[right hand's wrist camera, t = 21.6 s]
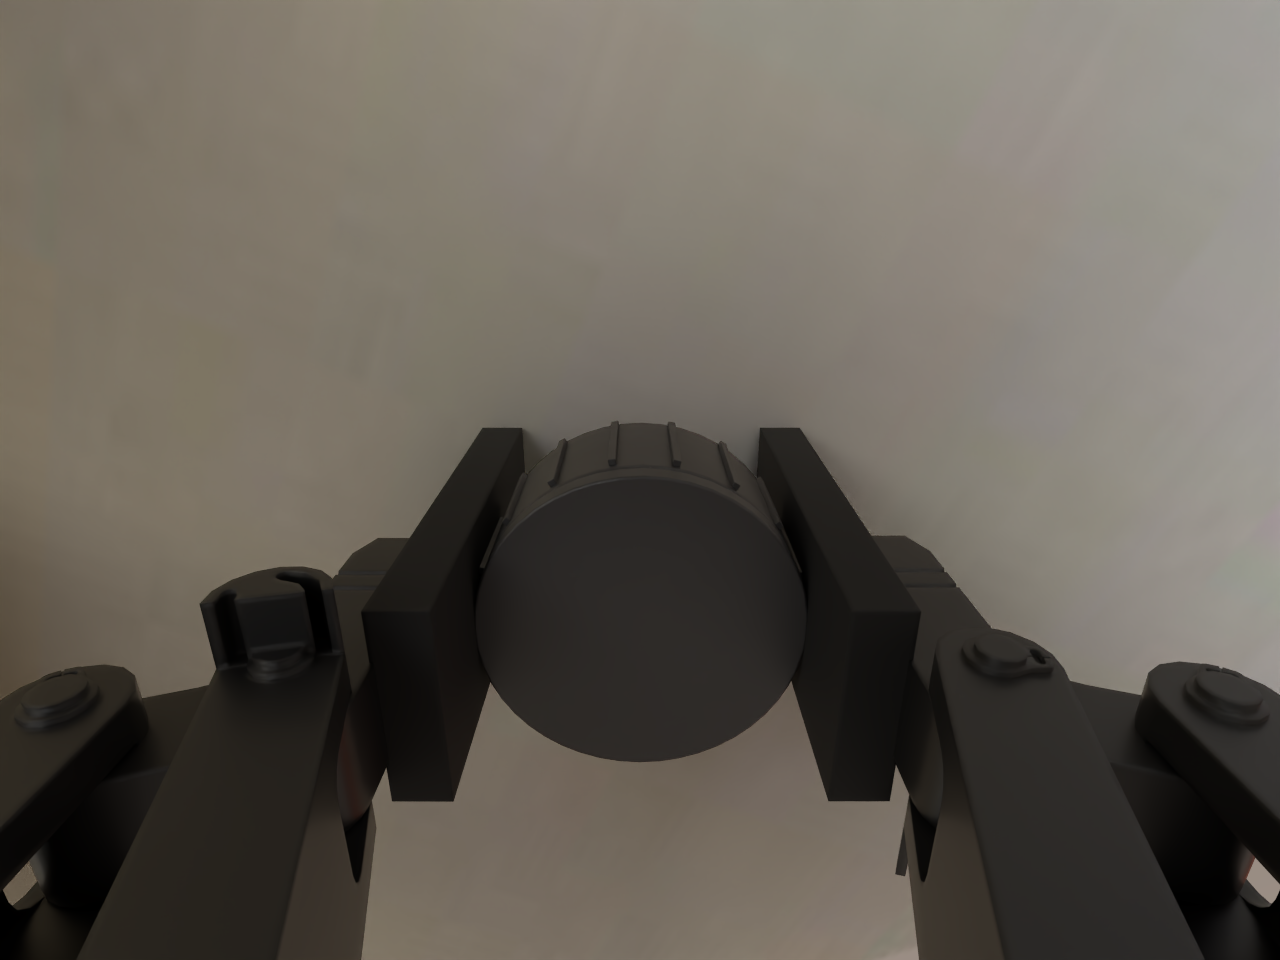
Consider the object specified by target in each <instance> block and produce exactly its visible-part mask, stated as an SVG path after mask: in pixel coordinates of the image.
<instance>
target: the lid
mask: <svg viewBox="0 0 1280 960" xmlns="http://www.w3.org/2000/svg"><path fill="white" fill-rule="evenodd" d="M479 574H482V576H481V579H480V583H479V586H478V589H477V593H476V600H475V607H474V618H475V630H476V639H477V649H478V652H479V655H480V658H481V662H482V665H483V667H484V669H485V671H486V673H487V675H488V677H489V679H490V682H491V683H492V685H493V686H494V688H495V689H496V691H497V692H498V694H499V695H500V697H501V698H502V700H503V701H504V702H505V703H506V704H507V705H508V706H509V707H510V709H511V710H512V711H513V712H514V713H515V714H516V715H517V716H519V717H520V718H521V719H522V720H523V721H524V722H525V723H527V724H528V725H529V726H530V727H532V728H533V729H535V730H536V731H538V732H539V733H541V734H542V735H543V736H545V737H547V738H549V739H551V740H553V741H555V742H556V743H558V744H560V745H562V746H565V747H567V748H570V749H573V750H575V751H578V752H580V753H584V754H588V755H591V756H595V757H599V758H604V759H610V760H617V761H630V762H651V761H663V760H670V759H677V758H681V757H685V756H689V755H693V754H697V753H700V752H703V751H705V750H708V749H711V748H713V747H716V746H718V745H720V744H722V743H724V742H726V741H728V740H730V739H732V738H734V737H736V736H737V735H739V734H740V733H742V732H743V731H745V730H746V729H748V728H749V727H751V726H752V725H753V724H754V723H755V722H757V721H758V720H759V719H760V718H761V717H763V716H764V715H765V714H766V713H767V712H768V711H769V710H770V708H771V707H772V706H773V705H774V704H775V703H776V702H777V701H778V700H779V698H780V697H781V695H782V694H783V693H784V691H785V690H786V688H787V687H788V686H789V684H790V682H791V680H792V678H793V676H794V674H795V672H796V670H797V668H798V666H799V663H800V660H801V657H802V654H803V651H804V645H805V636H806V625H807V615H808V607H807V598H806V592H805V588H804V585H803V581H802V570H801V568H800V565H799V563H798V560H797V558H796V556H795V553H794V551H793V549H792V546H791V544H790V542H789V539H788V537H787V534H786V532H785V530H784V527H783V524H782V522H781V520H780V517H779V515H778V513H777V510H776V508H775V506H774V504H773V501H772V499H771V497H770V494H769V492H768V490H767V488H766V485H765V483H764V481H763V479H762V478H761V477H758V478H757V479H756V478H755V477H754V475H753V474H752V473H751V472H750V471H749V470H748V468H747V467H746V466H745V465H744V464H743V463H742V462H741V461H740V460H738V459H737V458H736V457H735V456H734V455H733V454H732V453H730V452H729V451H728V448H727V446H726V444H725V443H723V442H722V441H721V442H720V443H719V444H717V443H715V442H713V441H711V440H709V439H707V438H705V437H703V436H701V435H699V434H696V433H693V432H690V431H687V430H684V429H681V428H677V427H676V426H675V423H673V422H668V426H667V425H662V424H650V423H632V424H620V425H619V423H618V421H614V422H611V426H609V427H603V428H600V429H597V430H594V431H590V432H587V433H584V434H582V435H580V436H578V437H576V438H574V439H571V440H569V441H566V440H565V439H563V440H561V441H559V444H558V447H557V448H556V449H555V450H553V451H552V452H550V453H549V454H548V455H547V456H546V457H545V458H543V459H542V460H541V461H540V462H539V463H538V464H537V465H536V466H535V467H534V468H533V469H532V470H531V471H530V472H529V473H528V475H526V474H525V473H522V475H521V476H520V478H519V480H518V483H517V485H516V488H515V490H514V493H513V495H512V498H511V500H510V503H509V505H508V508H507V510H506V513H505V516H504V518H503V517H500V519H499V522H498V524H497V526H496V529H495V531H494V533H493V536H492V538H491V540H490V543H489V545H488V547H487V550H486V552H485V555H484V557H483V559H482V562H481V564H480V567H479Z"/></svg>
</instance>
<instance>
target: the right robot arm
mask: <svg viewBox="0 0 1280 960" xmlns="http://www.w3.org/2000/svg"><path fill="white" fill-rule="evenodd" d="M522 473H525V468H524V452H523V436H522V428H482V430H481V431H480V433H479V434H478V436H477V437H476V439H475V440H474V442H473V443H472V445H471V446H470V448H469V449H468V451H467V453H466V454H465V456H464V457H463V459H462V460H461V462H460V463H459V465H458V466H457V468H456V469H455V471H454V472H453V474H452V475H451V477H450V478H449V480H448V481H447V483H446V484H445V486H444V487H443V489H442V490H441V492H440V493H439V495H438V496H437V498H436V499H435V501H434V502H433V504H432V505H431V507H430V508H429V510H428V511H427V513H426V514H425V516H424V517H423V519H422V520H421V522H420V523H419V525H418V526H417V528H416V529H415V531H414V532H413V534H412V535H411V537H410V538H378V539H376V540H374V541H373V542H371V543H369V544H368V545H366V546H364V547H363V548H361V549H359V550H358V551H356V552H354V553H353V554H352V555H351V556H350V558H349V559H348V560H347V561H346V563H345V564H344V565H343V567H342V568H341V569H340V570H339V574H338V575H335V577H334V578H333V579H332V578H331V577H330V576H328V575H327V574H326V573H324V572H323V571H321V570H317V569H312V568H307V567H278V568H273V569H267V570H262V571H257V572H253V573H250V574H248V575H245V576H242V577H239V578H236V579H233V580H231V581H229V582H227V583H225V584H224V585H222V586H220V587H218V588H217V589H215V590H213V591H212V592H211V593H210V594H209V595H208V596H207V597H206V598H205V599H204V600H203V601H202V602H201V603H200V608H201V611H202V615H203V619H204V623H205V627H206V631H207V635H208V638H209V642H210V646H211V650H212V654H213V658H214V661H215V665H216V671H215V673H214V675H213V677H212V680H211V682H210V684H209V685H207V686H203V687H199V688H194V689H189V690H184V691H178V692H173V693H168V694H163V695H157V696H152V697H147V698H142V697H141V694H140V691H139V687H138V684H137V681H136V678H135V675H133V674H132V673H131V672H129V671H128V670H127V669H125V668H124V667H117V666H110V665H96V666H86V667H75V668H70V669H65V670H64V671H63V672H61V671H58V672H55V673H52V674H48V675H46V676H44V677H42V678H41V679H39V680H37V681H35V682H32V683H30V684H28V685H26V686H23V687H21V688H19V689H18V690H16V691H14V692H13V693H11V694H10V695H8V696H7V697H5V698H4V699H2V700H0V960H361V956H362V947H363V938H364V930H365V921H366V912H367V904H368V895H369V886H370V877H371V869H372V860H373V851H374V843H375V834H376V823H375V816H374V810H373V805H372V799H373V796H374V794H375V792H376V790H377V787H378V785H379V783H380V781H381V778H382V776H383V774H384V771H385V769H386V767H387V773H388V779H389V785H390V791H391V797H392V801H446V802H453V801H454V798H455V795H456V791H457V788H458V785H459V782H460V779H461V775H462V772H463V769H464V766H465V762H466V759H467V756H468V753H469V749H470V746H471V743H472V740H473V736H474V733H475V730H476V727H477V723H478V720H479V717H480V714H481V711H482V707H483V704H484V701H485V698H486V694H487V691H488V688H489V685H490V679H489V677H488V675H487V673H486V671H485V669H484V667H483V665H482V662H481V658H480V655H479V652H478V649H477V639H476V630H475V618H474V607H475V600H476V593H477V589H478V586H479V583H480V579H481V576H482V574H479V567H480V564H481V562H482V559H483V557H484V555H485V552H486V550H487V547H488V545H489V543H490V540H491V538H492V536H493V533H494V531H495V529H496V526H497V524H498V522H499V519H500V517H503V518H504V516H505V513H506V510H507V508H508V505H509V503H510V500H511V498H512V495H513V493H514V490H515V488H516V485H517V483H518V480H519V478H520V476H521V475H522ZM758 477H761V478H762V479H763V481H764V483H765V485H766V488H767V490H768V492H769V494H770V497H771V499H772V501H773V504H774V506H775V508H776V510H777V513H778V515H779V517H780V520H781V522H782V524H783V527H784V530H785V532H786V534H787V537H788V539H789V542H790V544H791V546H792V549H793V551H794V553H795V556H796V558H797V560H798V563H799V565H800V568H801V570H802V581H803V585H804V588H805V592H806V598H807V607H808V615H807V625H806V636H805V645H804V651H803V654H802V657H801V660H800V663H799V666H798V668H797V670H796V672H795V674H794V676H793V678H792V680H791V681H792V684H793V688H794V691H795V694H796V697H797V701H798V704H799V707H800V710H801V714H802V717H803V720H804V723H805V727H806V730H807V733H808V736H809V740H810V743H811V746H812V749H813V753H814V756H815V759H816V762H817V766H818V769H819V772H820V775H821V779H822V782H823V785H824V788H825V792H826V795H827V798H828V801H890V796H891V790H892V784H893V778H894V772H895V766H897V768H898V770H899V772H900V775H901V777H902V779H903V781H904V784H905V786H906V788H907V790H908V793H909V799H908V805H907V810H906V816H905V822H904V827H903V833H902V838H901V844H900V849H899V855H898V861H897V867H896V873H895V874H897V875H902V876H905V874H906V869H907V864H908V867H909V876H910V884H911V893H912V902H913V910H914V919H915V928H916V937H917V945H918V954H919V960H1280V891H1279V893H1278V896H1277V898H1276V900H1275V901H1274V902H1273V903H1272V904H1271V903H1269V902H1268V901H1267V900H1266V899H1265V898H1264V897H1262V896H1261V895H1260V894H1259V893H1258V892H1257V891H1256V890H1255V888H1254V887H1253V886H1252V885H1251V884H1250V883H1249V882H1248V880H1247V879H1246V878H1247V876H1248V873H1249V871H1250V869H1251V866H1252V864H1253V862H1254V859H1255V858H1256V859H1257V860H1258V861H1259V862H1260V863H1261V864H1262V865H1263V866H1264V867H1265V869H1266V870H1267V871H1268V872H1269V873H1270V874H1271V875H1272V876H1273V877H1274V878H1275V879H1276V880H1277V882H1278V883H1279V884H1280V695H1279V694H1278V693H1276V692H1274V691H1273V690H1271V689H1270V688H1268V687H1267V686H1265V685H1263V684H1261V683H1258V682H1256V681H1254V680H1252V679H1249V678H1247V677H1245V676H1243V675H1242V674H1240V673H1238V672H1236V671H1232V670H1229V669H1226V668H1222V669H1221V668H1219V666H1214V665H1209V664H1198V663H1188V662H1173V663H1166V664H1160V665H1158V666H1157V667H1155V668H1154V669H1153V670H1151V671H1150V672H1149V673H1148V676H1147V679H1146V682H1145V686H1144V689H1143V692H1142V695H1136V694H1131V693H1125V692H1120V691H1115V690H1110V689H1104V688H1099V687H1094V686H1089V685H1084V684H1080V683H1076V682H1072V681H1070V680H1069V678H1068V676H1067V674H1066V672H1065V670H1064V668H1063V667H1062V666H1061V664H1060V663H1059V662H1058V661H1057V659H1056V658H1055V657H1054V656H1053V655H1052V654H1051V653H1050V652H1048V651H1047V650H1045V649H1044V648H1042V647H1041V646H1039V645H1038V644H1036V643H1035V642H1033V641H1030V640H1028V639H1025V638H1023V637H1021V636H1018V635H1016V634H1013V633H1011V632H1006V631H1001V630H997V629H992V628H991V627H990V626H989V625H988V623H987V622H986V621H985V620H984V618H983V617H982V616H981V615H980V613H979V612H978V611H977V610H976V608H975V607H974V606H973V605H972V603H971V602H970V601H969V600H968V598H967V597H966V596H965V595H964V593H963V592H962V591H961V589H960V588H956V583H955V582H954V581H953V579H952V578H951V577H950V576H949V574H948V573H947V572H944V568H943V567H942V566H941V564H940V563H939V562H938V561H937V559H936V558H935V557H934V556H933V554H932V553H931V552H930V551H929V550H927V549H926V548H924V547H922V546H921V545H919V544H917V543H916V542H914V541H912V540H911V539H909V538H907V537H906V536H871V535H870V533H869V532H868V530H867V529H866V527H865V526H864V524H863V523H862V521H861V520H860V518H859V517H858V515H857V514H856V512H855V511H854V509H853V508H852V506H851V505H850V503H849V502H848V500H847V499H846V497H845V496H844V494H843V493H842V491H841V490H840V488H839V487H838V485H837V484H836V482H835V481H834V479H833V478H832V476H831V475H830V473H829V472H828V470H827V469H826V467H825V466H824V464H823V463H822V461H821V460H820V458H819V457H818V455H817V453H816V452H815V450H814V449H813V447H812V446H811V444H810V443H809V441H808V440H807V438H806V437H805V435H804V434H803V432H802V431H801V429H800V428H760V441H759V456H758V472H757V478H758ZM28 861H29V862H30V865H31V867H32V869H33V872H34V874H35V877H36V879H37V882H36V884H35V885H34V886H33V887H32V888H31V889H30V890H29V892H28V893H27V894H26V895H25V896H24V897H23V898H21V899H20V900H19V901H18V902H17V903H15V904H14V905H13V906H12V905H11V904H10V903H9V902H8V900H7V898H6V896H5V894H4V892H3V889H4V888H5V886H6V885H7V884H8V883H9V882H10V881H11V880H12V879H13V878H14V877H15V875H16V874H17V873H18V872H19V871H20V870H21V869H22V868H23V867H24V866H25V864H26V863H27V862H28Z"/></svg>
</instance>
